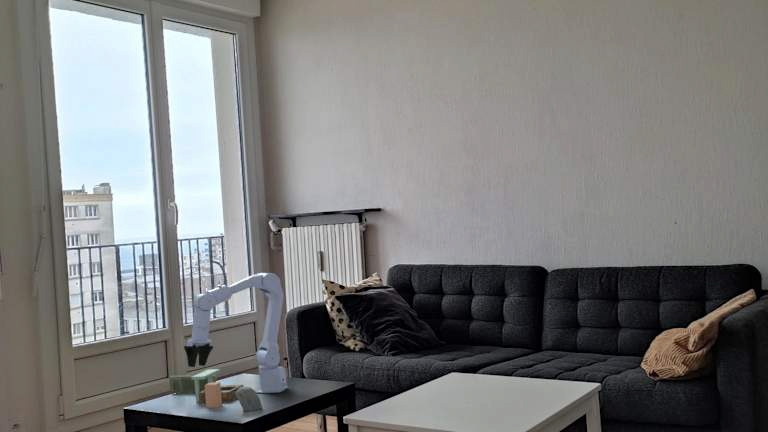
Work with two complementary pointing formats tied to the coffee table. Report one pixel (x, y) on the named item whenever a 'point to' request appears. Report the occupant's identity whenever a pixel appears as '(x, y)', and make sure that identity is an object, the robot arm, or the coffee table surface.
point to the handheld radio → (187, 383)
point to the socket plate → (223, 393)
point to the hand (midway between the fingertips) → (196, 366)
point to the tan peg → (213, 395)
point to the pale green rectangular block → (203, 375)
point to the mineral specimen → (248, 398)
